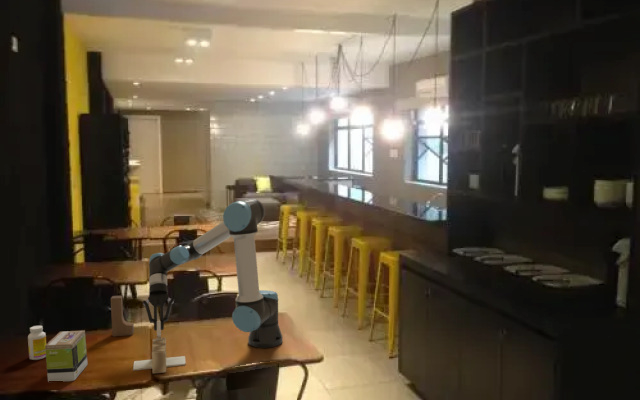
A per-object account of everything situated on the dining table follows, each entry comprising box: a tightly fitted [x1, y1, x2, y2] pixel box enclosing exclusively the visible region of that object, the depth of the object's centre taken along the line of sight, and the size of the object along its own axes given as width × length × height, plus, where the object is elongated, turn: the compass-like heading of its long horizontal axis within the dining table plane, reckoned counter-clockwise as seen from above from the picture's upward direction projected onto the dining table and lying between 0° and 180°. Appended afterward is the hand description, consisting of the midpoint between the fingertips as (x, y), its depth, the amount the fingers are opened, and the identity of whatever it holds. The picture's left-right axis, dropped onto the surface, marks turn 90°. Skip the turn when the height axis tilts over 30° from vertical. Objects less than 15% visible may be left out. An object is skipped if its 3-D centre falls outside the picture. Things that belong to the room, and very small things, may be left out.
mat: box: [132, 355, 187, 371], centre depth 220 cm, size 20×8×1 cm, turn 105°
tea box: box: [45, 329, 89, 383], centre depth 211 cm, size 15×10×15 cm, turn 5°
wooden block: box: [110, 295, 135, 337], centre depth 253 cm, size 9×4×18 cm, turn 102°
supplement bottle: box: [27, 325, 47, 361], centre depth 227 cm, size 7×7×13 cm
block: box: [151, 337, 167, 374], centre depth 218 cm, size 5×8×16 cm
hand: (159, 337), depth 222 cm, fingers closed
